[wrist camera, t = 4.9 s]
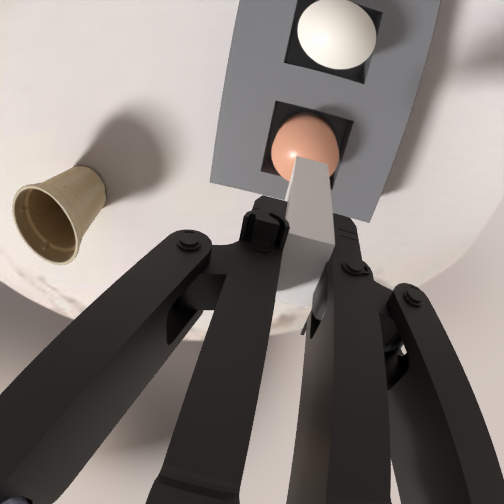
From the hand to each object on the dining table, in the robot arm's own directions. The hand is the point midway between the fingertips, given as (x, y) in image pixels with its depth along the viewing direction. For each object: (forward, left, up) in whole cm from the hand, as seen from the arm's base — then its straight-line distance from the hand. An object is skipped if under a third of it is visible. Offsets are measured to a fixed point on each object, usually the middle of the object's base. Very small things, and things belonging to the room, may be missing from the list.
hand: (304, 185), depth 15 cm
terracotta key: (+1, 0, -12) cm, 12 cm away
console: (-8, 0, -14) cm, 16 cm away
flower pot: (+12, -23, -14) cm, 30 cm away
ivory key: (-8, 0, -11) cm, 13 cm away
